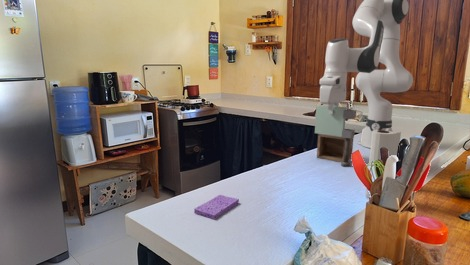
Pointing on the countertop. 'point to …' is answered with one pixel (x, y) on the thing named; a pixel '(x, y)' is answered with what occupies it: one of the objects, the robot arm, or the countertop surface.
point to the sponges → (216, 206)
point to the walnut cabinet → (335, 148)
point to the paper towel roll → (383, 145)
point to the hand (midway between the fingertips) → (332, 113)
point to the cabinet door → (333, 121)
